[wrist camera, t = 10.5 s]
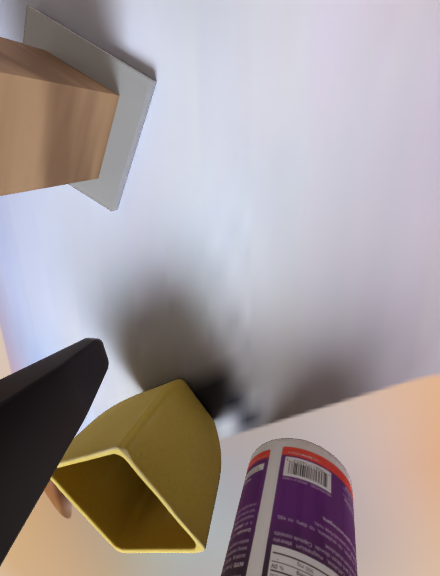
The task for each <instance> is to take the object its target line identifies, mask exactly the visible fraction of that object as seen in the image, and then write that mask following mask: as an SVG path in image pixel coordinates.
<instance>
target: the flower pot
mask: <svg viewBox="0 0 440 576" xmlns="http://www.w3.org/2000/svg"><path fill="white" fill-rule="evenodd" d="M220 473H221V450H220V443H219V438H218V433H217V430H216V426H215V423H214V420H213V419H212V417H211V416H210V415H209V413H208V412H207V411H206V409H205V408H204V407H203V405H202V404H201V403H200V401H199V400H198V399H197V397H196V396H195V395H194V393H193V392H192V390H191V389H190V388H189V386H188V385H187V383H186V382H185V381H184V380H182V379H177V380H174V381H171V382H169V383H166V384H163V385H161V386H158V387H156V388H153V389H150V390H147V391H145V392H142V393H140V394H137V395H135V396H132V397H130V398H128V399H126V400H124V401H122V402H120V403H118V404H116V405H115V406H113V407H111V408H110V409H108V410H107V411H105V412H104V413H102V414H101V415H100V416H98V417H97V418H96V419H95V420H94V421H92V422H91V423H90V424H89V425H88V426H87V427H86V428H85V429H84V430H83V431H81V432H80V433H79V434H78V435H77V436H76V437H75V438H74V439H73V440H72V442H71V444H70V446H69V447H68V449H67V451H66V453H65V454H64V456H63V458H62V460H61V461H60V463H59V465H58V466H57V468H56V470H55V472H54V473H53V475H52V477H51V480H52V481H53V483H54V484H55V485H56V486H57V487H58V488H59V490H60V491H61V492H62V493H63V494H64V495H65V496H66V497H67V498H68V500H69V501H70V502H71V503H72V504H73V505H74V506H75V507H76V508H77V509H78V510H79V511H80V512H81V514H82V515H84V517H85V518H86V519H87V520H88V521H89V522H90V523H91V524H92V525H93V526H94V527H95V528H96V530H97V531H98V532H99V533H100V534H101V535H102V536H103V537H104V538H105V539H106V540H107V541H108V542H109V543H110V544H111V545H112V546H113V547H114V548H115V549H116V550H117V551H118V552H122V553H153V552H155V553H197V552H202V551H204V550H205V548H206V543H207V538H208V533H209V529H210V524H211V519H212V514H213V510H214V505H215V500H216V495H217V490H218V485H219V479H220Z"/></svg>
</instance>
